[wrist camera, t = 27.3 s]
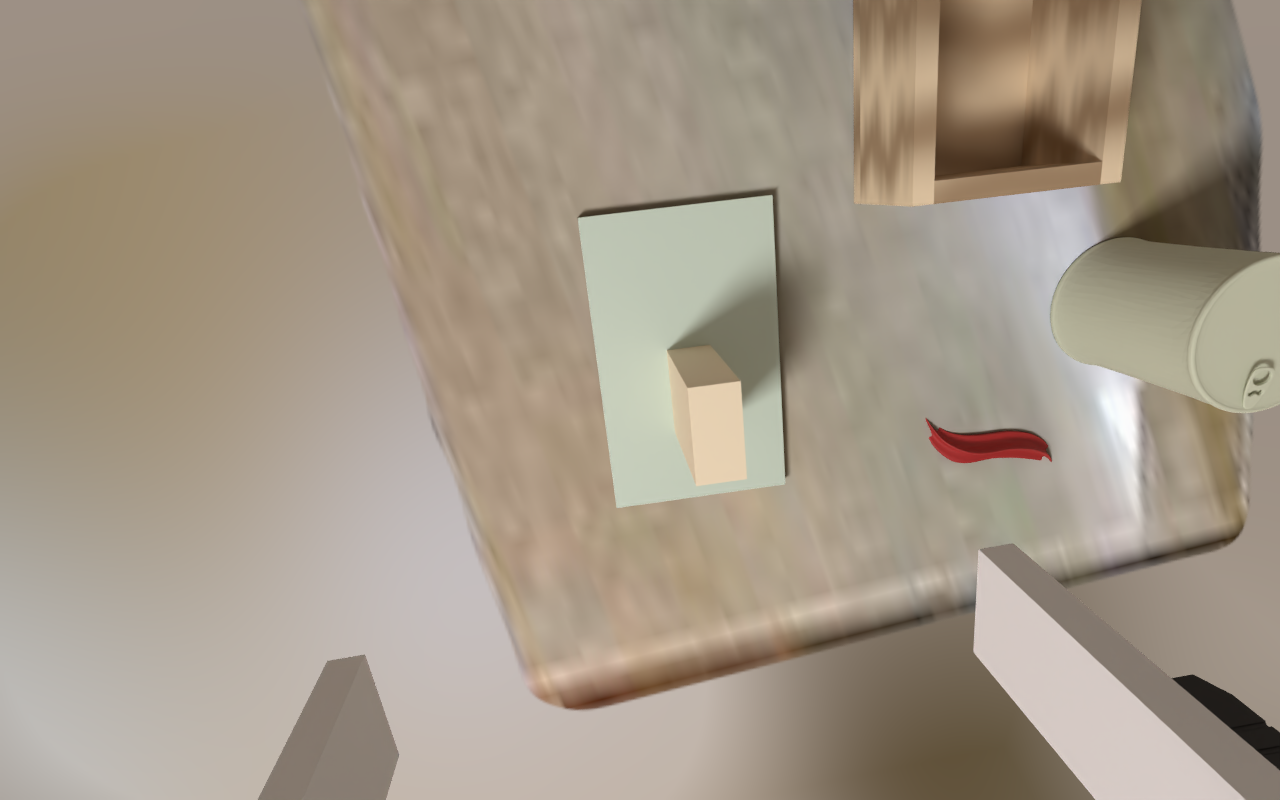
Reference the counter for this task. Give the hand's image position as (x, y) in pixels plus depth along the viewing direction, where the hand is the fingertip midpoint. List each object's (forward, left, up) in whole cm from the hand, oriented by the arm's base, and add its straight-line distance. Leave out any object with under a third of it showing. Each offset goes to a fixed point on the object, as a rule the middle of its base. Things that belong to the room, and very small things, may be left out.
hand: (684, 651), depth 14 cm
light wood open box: (-17, +23, -33) cm, 43 cm away
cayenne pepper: (+12, +28, -33) cm, 45 cm away
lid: (+2, +5, -33) cm, 33 cm away
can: (+2, +36, -33) cm, 49 cm away
